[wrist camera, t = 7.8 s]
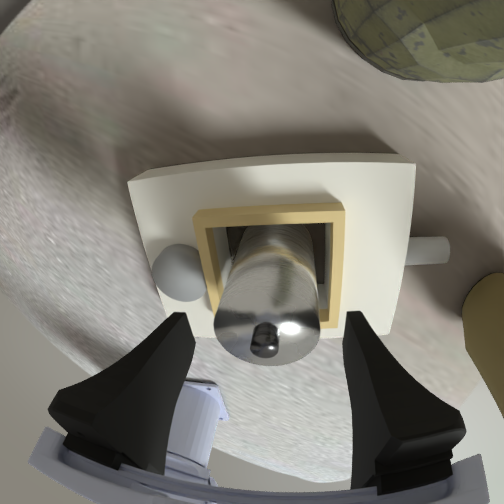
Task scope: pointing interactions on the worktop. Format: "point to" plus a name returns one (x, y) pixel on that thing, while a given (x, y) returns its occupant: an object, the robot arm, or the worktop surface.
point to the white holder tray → (284, 212)
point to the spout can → (270, 297)
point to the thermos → (427, 37)
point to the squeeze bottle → (487, 332)
